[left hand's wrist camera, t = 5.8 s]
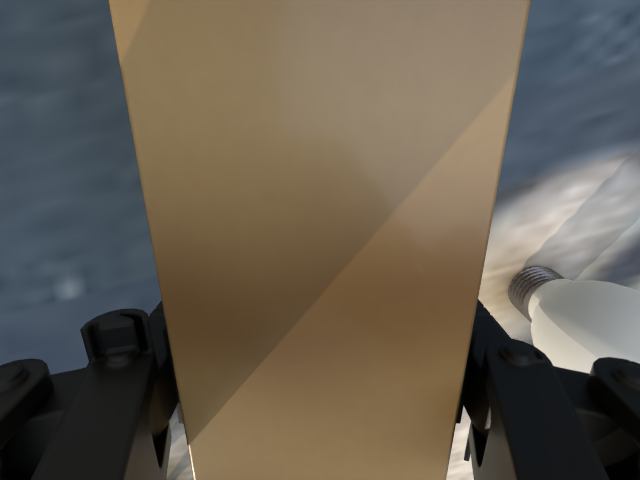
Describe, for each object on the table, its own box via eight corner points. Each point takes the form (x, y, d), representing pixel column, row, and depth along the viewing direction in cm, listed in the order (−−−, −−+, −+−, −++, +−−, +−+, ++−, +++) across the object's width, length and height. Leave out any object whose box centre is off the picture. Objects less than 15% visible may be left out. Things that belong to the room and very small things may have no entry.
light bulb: (474, 309, 27) (571, 435, 16) (524, 231, 24) (673, 320, 14) (548, 338, 27) (686, 475, 17) (603, 265, 25) (798, 372, 15)
